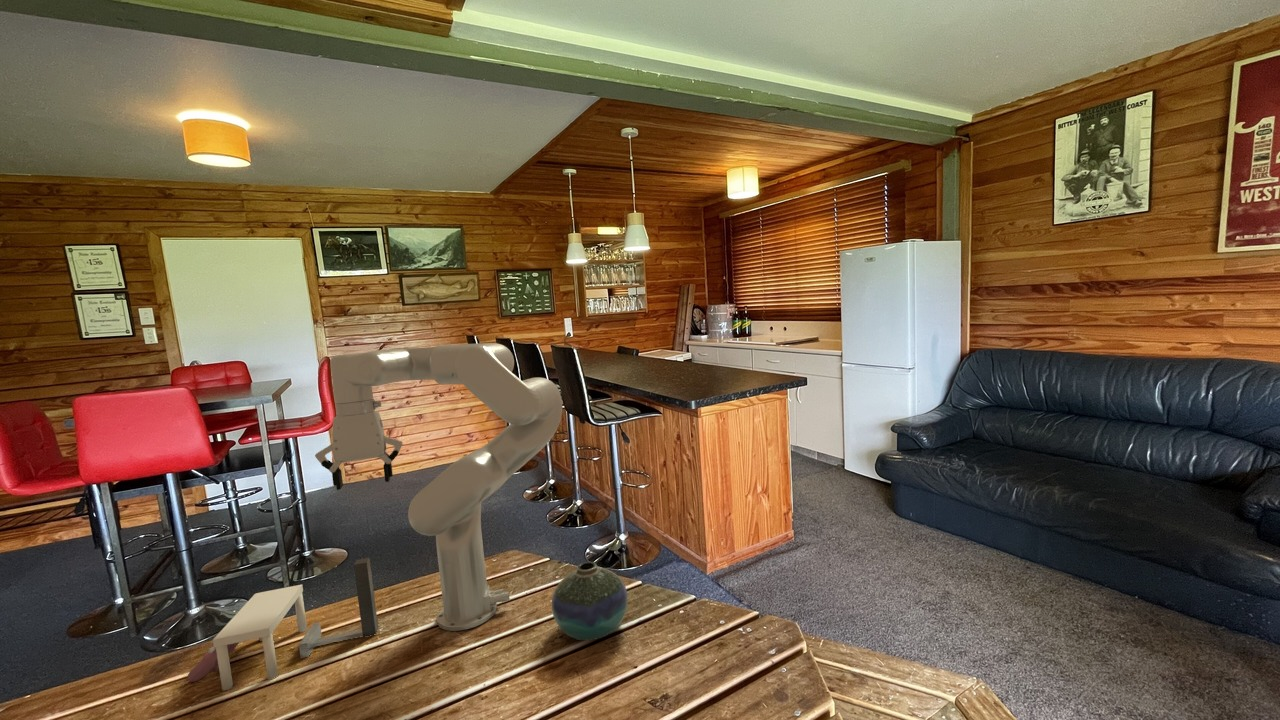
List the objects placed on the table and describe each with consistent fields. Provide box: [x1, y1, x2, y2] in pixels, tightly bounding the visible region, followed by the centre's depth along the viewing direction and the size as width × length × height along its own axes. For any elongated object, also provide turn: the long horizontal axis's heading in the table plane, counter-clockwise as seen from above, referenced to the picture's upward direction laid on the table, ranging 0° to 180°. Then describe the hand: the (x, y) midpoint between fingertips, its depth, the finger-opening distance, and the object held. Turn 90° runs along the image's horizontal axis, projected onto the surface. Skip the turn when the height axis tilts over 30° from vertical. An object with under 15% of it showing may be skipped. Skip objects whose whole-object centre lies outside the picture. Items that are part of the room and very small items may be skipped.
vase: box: [551, 561, 629, 641], centre depth 105 cm, size 15×15×13 cm
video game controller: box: [187, 642, 240, 683], centre depth 104 cm, size 10×5×7 cm, turn 10°
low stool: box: [212, 584, 308, 692], centre depth 105 cm, size 9×18×10 cm, turn 16°
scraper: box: [298, 557, 379, 659], centre depth 109 cm, size 13×8×16 cm, turn 106°
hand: (364, 484), depth 116 cm, fingers open, 9 cm apart
